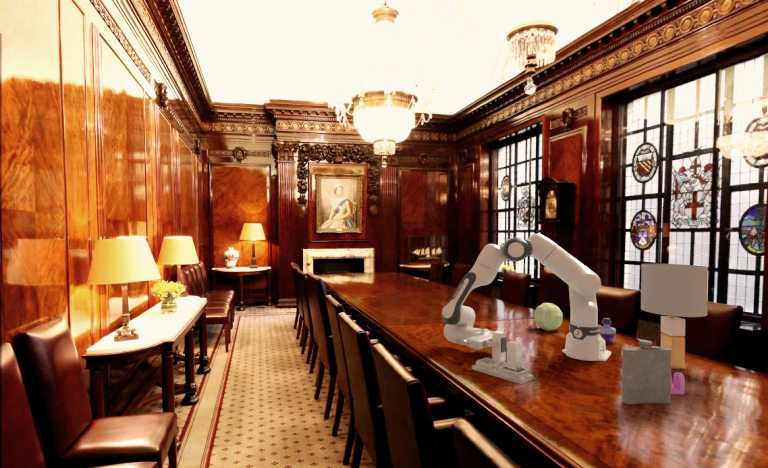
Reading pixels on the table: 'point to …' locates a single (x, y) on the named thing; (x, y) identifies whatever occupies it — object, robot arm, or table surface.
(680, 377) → the bracket
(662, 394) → the hip flask
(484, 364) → the pillar on stepped tray
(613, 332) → the potion bottle
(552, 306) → the decorative sphere
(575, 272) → the robot arm
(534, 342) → the table surface
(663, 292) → the lamp
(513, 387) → the table surface
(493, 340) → the loose rectangular block
